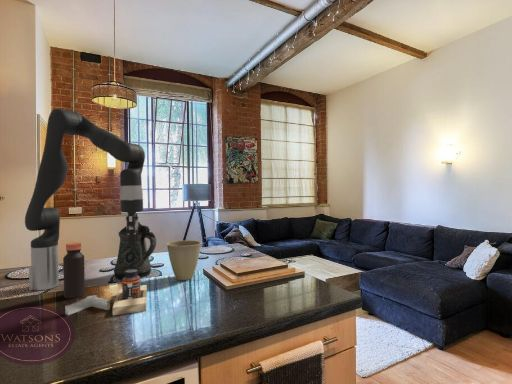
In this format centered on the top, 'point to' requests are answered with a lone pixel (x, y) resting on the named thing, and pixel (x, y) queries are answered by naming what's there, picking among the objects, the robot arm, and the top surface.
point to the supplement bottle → (131, 285)
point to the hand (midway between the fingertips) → (133, 243)
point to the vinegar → (73, 271)
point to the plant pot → (184, 258)
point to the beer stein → (135, 253)
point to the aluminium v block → (87, 304)
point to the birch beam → (130, 302)
